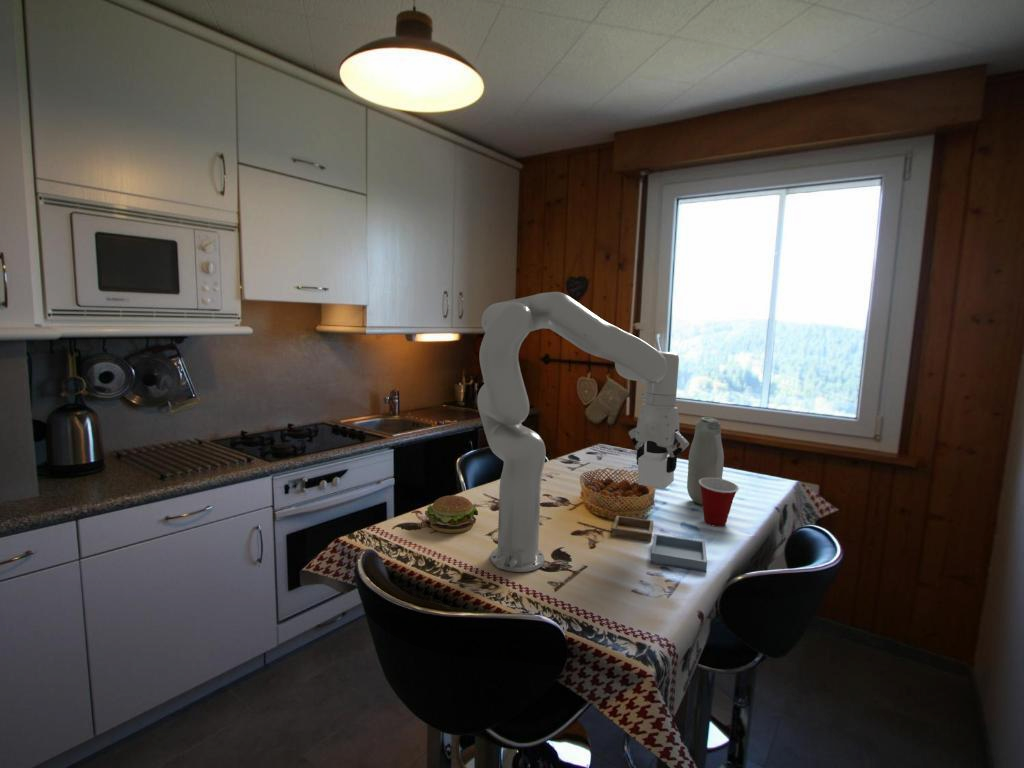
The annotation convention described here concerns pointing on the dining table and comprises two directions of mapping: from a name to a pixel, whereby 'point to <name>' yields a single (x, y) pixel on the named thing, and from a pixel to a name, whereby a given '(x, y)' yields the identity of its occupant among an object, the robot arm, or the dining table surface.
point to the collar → (632, 533)
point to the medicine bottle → (654, 467)
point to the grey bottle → (704, 456)
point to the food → (451, 514)
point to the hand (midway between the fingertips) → (655, 467)
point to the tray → (679, 553)
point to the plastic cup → (717, 499)
